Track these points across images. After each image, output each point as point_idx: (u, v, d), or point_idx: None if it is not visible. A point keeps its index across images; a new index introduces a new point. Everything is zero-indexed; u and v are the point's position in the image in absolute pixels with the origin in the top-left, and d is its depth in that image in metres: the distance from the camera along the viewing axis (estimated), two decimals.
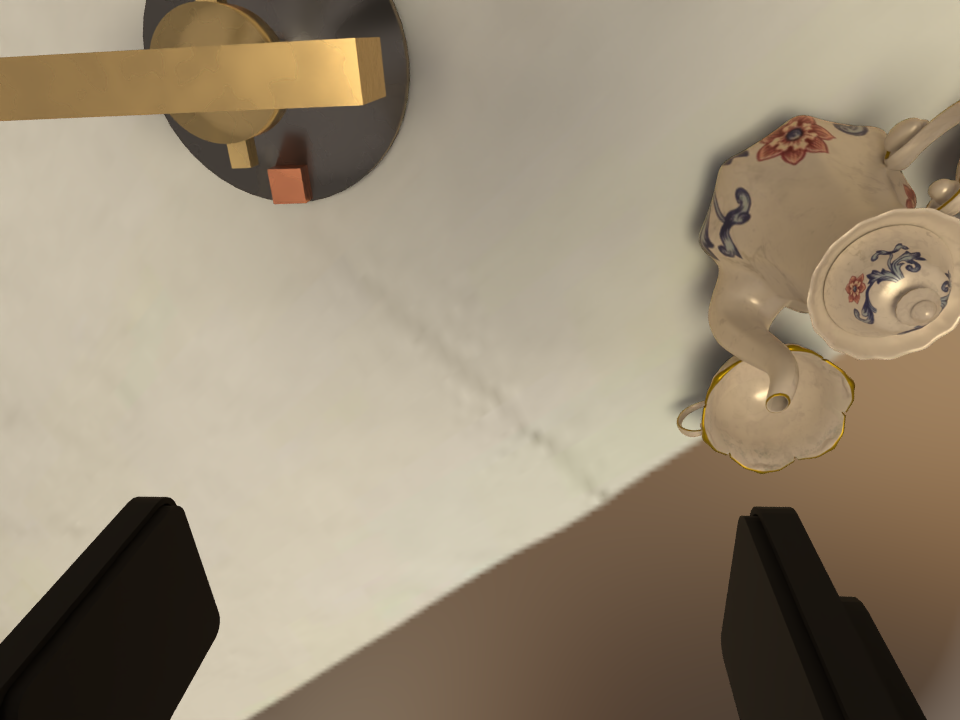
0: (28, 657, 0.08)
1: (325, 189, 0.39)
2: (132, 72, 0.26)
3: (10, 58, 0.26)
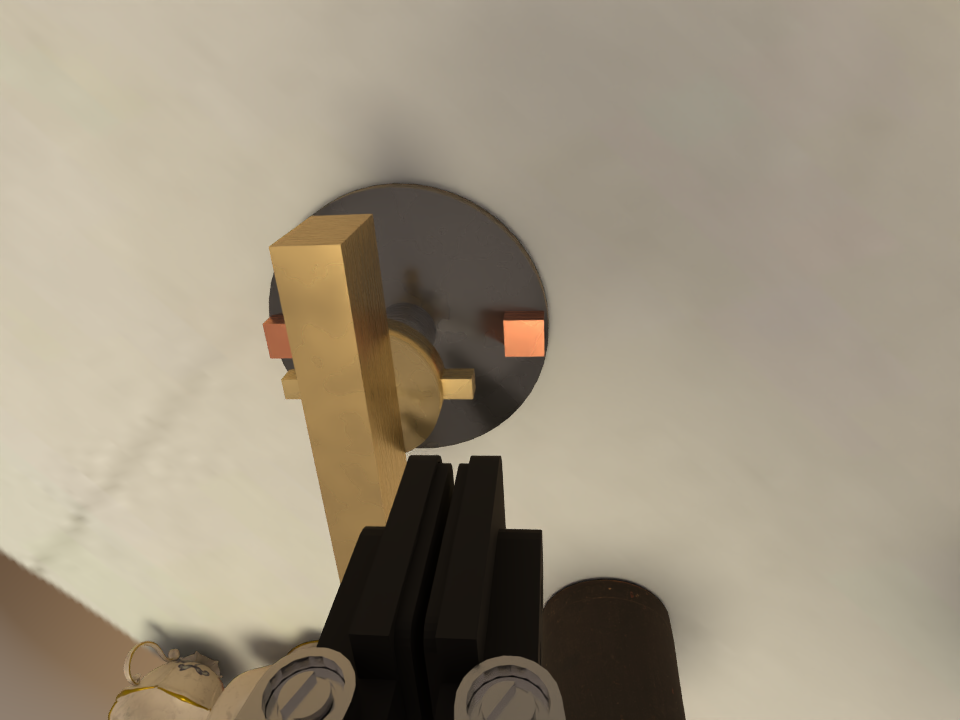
0: (400, 590, 0.08)
1: (291, 363, 0.36)
2: (348, 422, 0.24)
3: (346, 291, 0.21)
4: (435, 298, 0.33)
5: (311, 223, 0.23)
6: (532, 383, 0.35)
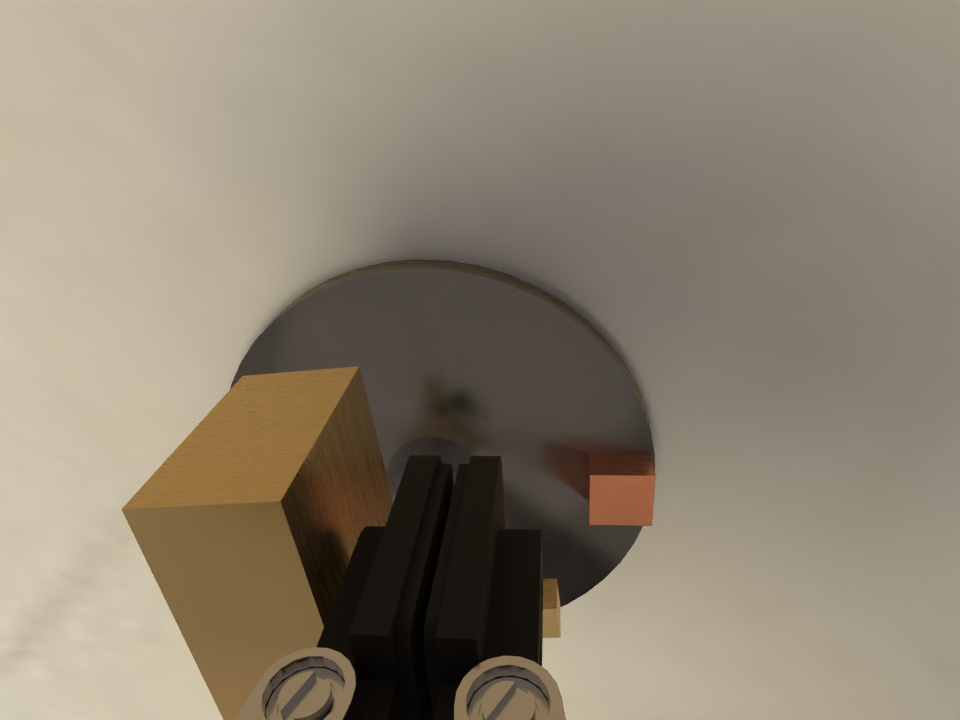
0: (401, 590, 0.08)
1: None
2: None
3: (306, 586, 0.09)
4: (480, 432, 0.21)
5: (237, 404, 0.12)
6: (623, 550, 0.23)
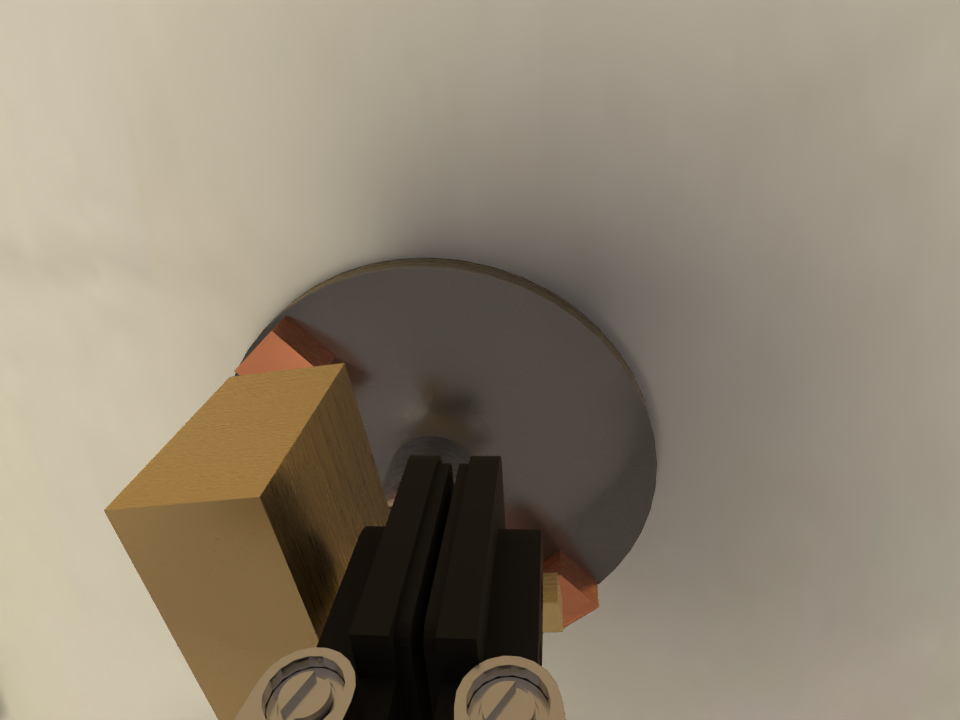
0: (401, 589, 0.08)
1: None
2: None
3: (291, 582, 0.09)
4: (506, 478, 0.22)
5: (223, 404, 0.12)
6: None
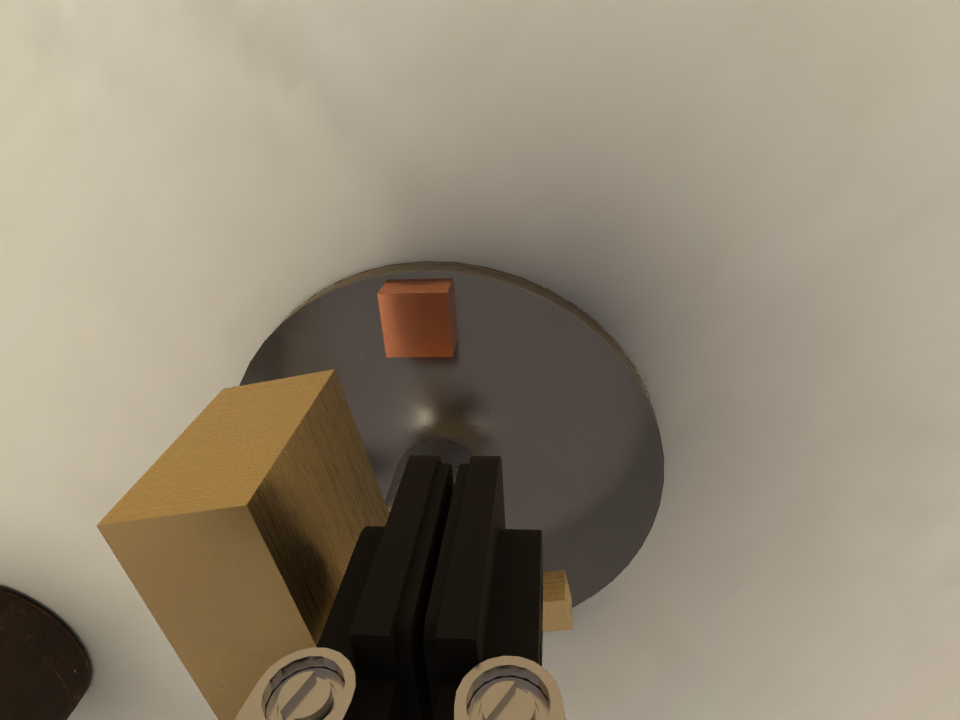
0: (401, 590, 0.08)
1: (360, 296, 0.20)
2: None
3: (284, 589, 0.09)
4: None
5: (215, 416, 0.12)
6: None
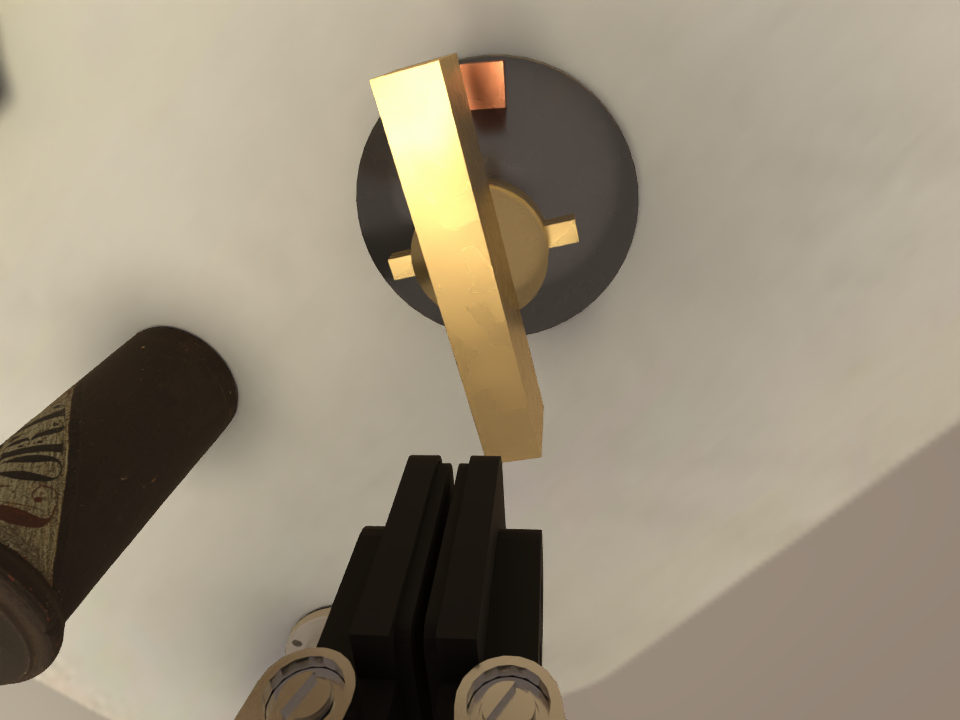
0: (401, 590, 0.08)
1: None
2: (468, 259, 0.24)
3: (450, 111, 0.21)
4: None
5: (400, 69, 0.24)
6: None
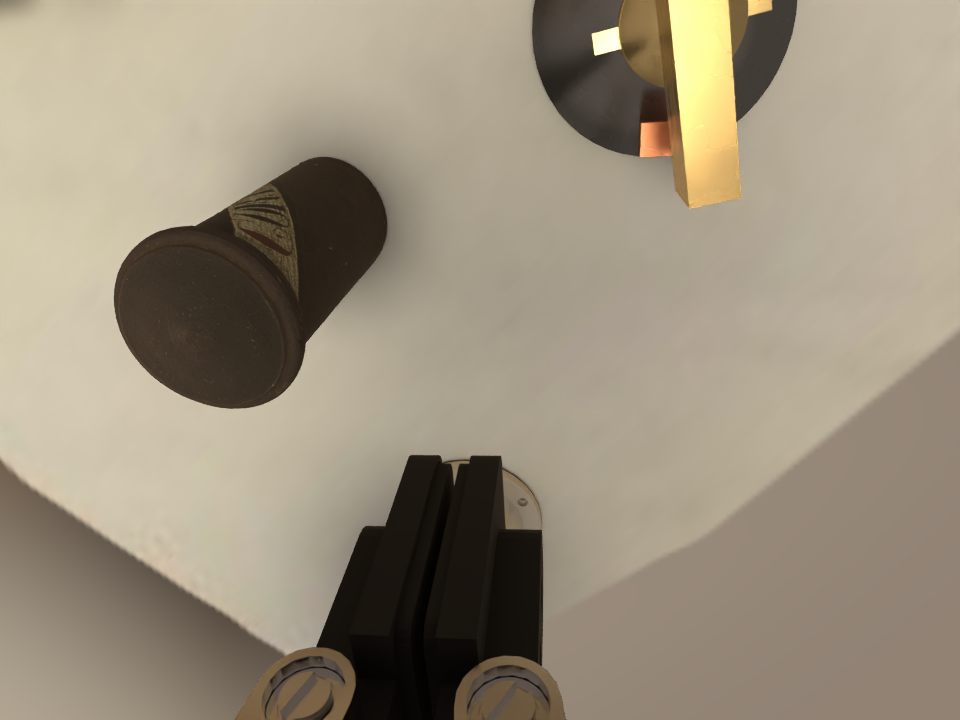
0: (401, 590, 0.08)
1: None
2: None
3: None
4: None
5: None
6: (602, 144, 0.41)
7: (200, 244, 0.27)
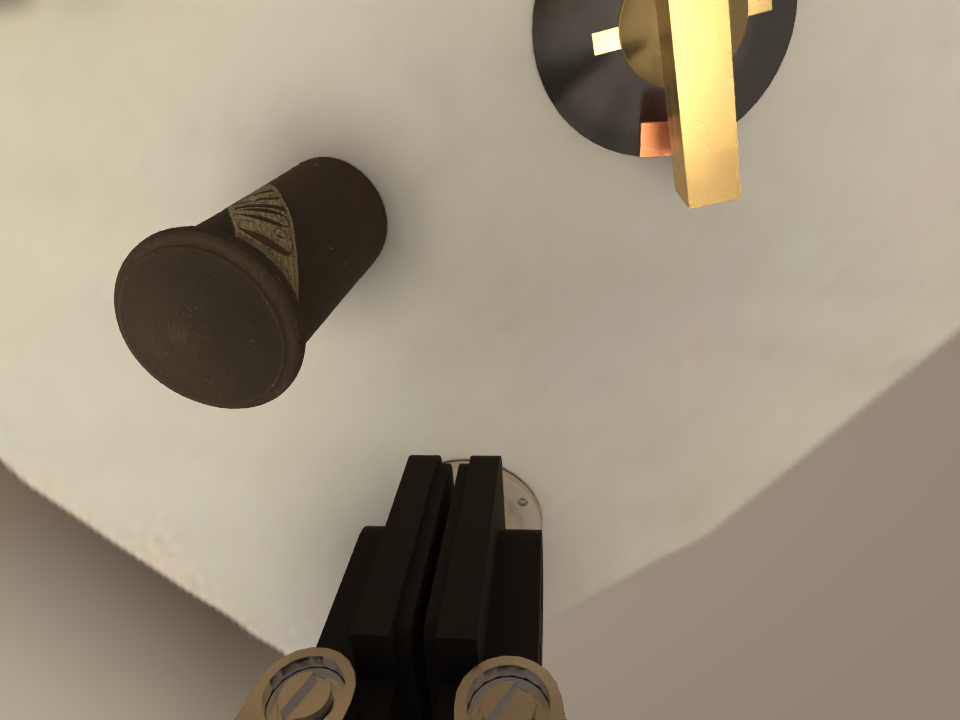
0: (401, 590, 0.08)
1: None
2: None
3: None
4: None
5: None
6: (602, 144, 0.41)
7: (199, 244, 0.27)
